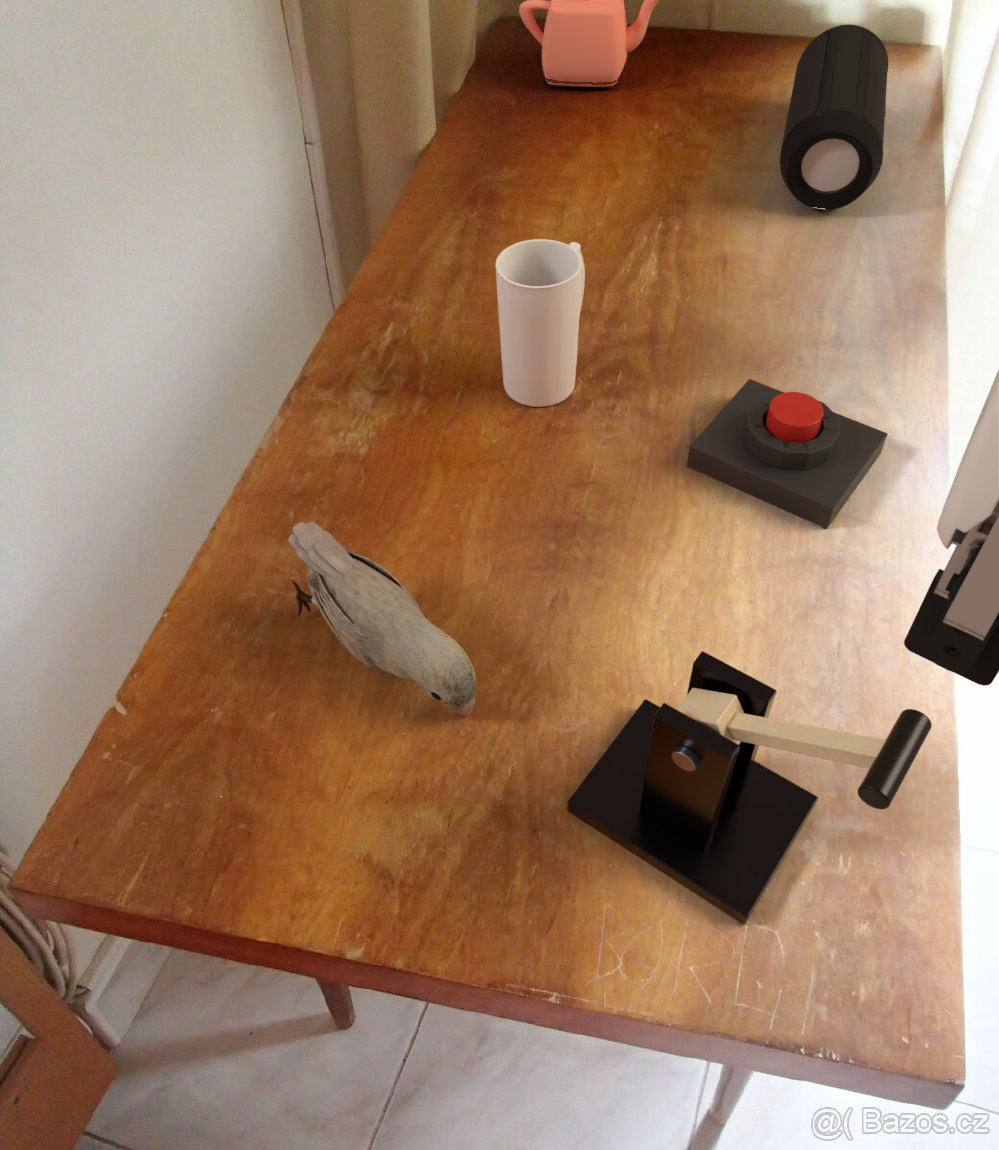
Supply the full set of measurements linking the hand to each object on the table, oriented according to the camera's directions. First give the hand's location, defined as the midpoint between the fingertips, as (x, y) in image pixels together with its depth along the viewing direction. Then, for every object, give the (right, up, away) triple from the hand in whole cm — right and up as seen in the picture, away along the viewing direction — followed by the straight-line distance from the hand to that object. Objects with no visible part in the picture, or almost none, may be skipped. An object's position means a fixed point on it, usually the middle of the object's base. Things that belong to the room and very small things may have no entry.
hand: (969, 620), depth 37 cm
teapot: (-6, +65, +88) cm, 110 cm away
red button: (+5, +13, +39) cm, 42 cm away
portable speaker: (+19, +48, +72) cm, 89 cm away
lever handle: (-3, -7, +12) cm, 15 cm away
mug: (-13, +19, +50) cm, 55 cm away
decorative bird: (-25, -4, +31) cm, 40 cm away
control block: (+5, +11, +42) cm, 44 cm away
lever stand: (-6, -12, +23) cm, 27 cm away
